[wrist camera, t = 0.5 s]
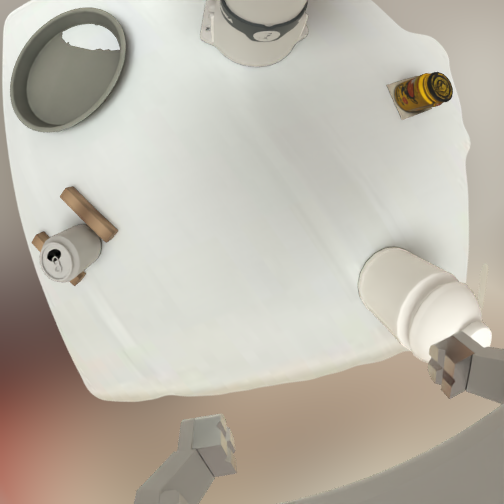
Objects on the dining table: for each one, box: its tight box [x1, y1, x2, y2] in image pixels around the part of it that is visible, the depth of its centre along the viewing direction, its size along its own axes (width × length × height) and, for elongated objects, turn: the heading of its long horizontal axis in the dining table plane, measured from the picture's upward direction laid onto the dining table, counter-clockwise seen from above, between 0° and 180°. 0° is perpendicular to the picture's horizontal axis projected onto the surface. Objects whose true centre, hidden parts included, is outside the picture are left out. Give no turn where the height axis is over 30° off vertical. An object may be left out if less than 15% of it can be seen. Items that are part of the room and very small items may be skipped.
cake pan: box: [10, 8, 126, 132], centre depth 41 cm, size 25×25×4 cm
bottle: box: [358, 247, 492, 363], centre depth 45 cm, size 14×14×28 cm
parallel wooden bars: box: [32, 187, 118, 286], centre depth 49 cm, size 12×13×3 cm
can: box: [40, 225, 101, 283], centre depth 46 cm, size 8×8×12 cm
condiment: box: [387, 72, 453, 120], centre depth 44 cm, size 7×8×12 cm
